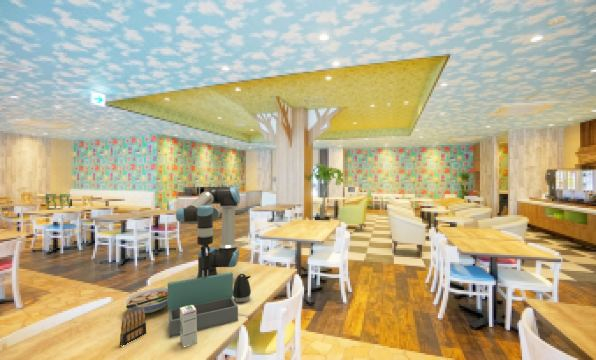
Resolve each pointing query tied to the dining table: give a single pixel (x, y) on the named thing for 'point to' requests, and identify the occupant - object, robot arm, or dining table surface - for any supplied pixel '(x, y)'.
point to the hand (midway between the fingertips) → (205, 281)
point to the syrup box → (188, 325)
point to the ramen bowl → (148, 300)
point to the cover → (199, 290)
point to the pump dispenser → (241, 288)
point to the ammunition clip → (133, 327)
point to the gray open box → (207, 315)
